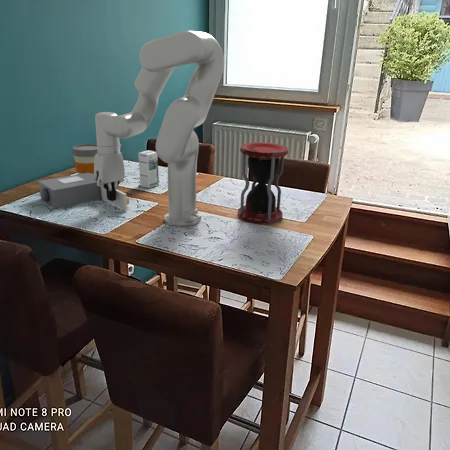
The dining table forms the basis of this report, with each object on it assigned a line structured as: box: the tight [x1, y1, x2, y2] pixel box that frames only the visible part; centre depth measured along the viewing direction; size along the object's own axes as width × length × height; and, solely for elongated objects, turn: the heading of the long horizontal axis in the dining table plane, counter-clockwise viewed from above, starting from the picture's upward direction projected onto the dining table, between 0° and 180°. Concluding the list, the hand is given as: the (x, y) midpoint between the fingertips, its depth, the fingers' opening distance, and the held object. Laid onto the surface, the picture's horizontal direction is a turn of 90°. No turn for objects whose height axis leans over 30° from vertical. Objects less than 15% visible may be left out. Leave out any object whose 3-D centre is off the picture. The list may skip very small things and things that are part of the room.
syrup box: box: [137, 149, 160, 189], centre depth 181 cm, size 6×6×14 cm
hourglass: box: [237, 141, 289, 225], centre depth 149 cm, size 16×16×25 cm
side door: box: [100, 187, 130, 211], centre depth 159 cm, size 2×17×6 cm, turn 45°
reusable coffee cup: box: [72, 143, 98, 175], centre depth 184 cm, size 13×13×15 cm
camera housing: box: [38, 173, 102, 210], centre depth 164 cm, size 14×21×7 cm, turn 132°
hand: (111, 199), depth 154 cm, fingers closed
